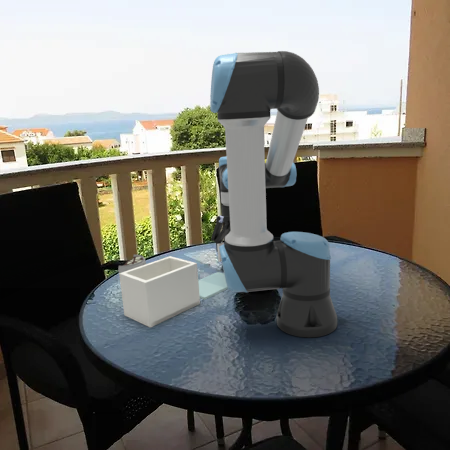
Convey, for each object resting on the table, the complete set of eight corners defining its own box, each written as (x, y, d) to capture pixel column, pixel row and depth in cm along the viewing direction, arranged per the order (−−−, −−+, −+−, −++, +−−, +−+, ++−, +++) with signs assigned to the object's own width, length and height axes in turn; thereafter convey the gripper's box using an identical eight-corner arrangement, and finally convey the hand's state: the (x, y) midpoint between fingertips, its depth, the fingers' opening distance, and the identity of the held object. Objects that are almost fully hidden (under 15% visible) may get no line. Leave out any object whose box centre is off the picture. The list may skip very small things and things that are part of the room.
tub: (200, 303, 120) (196, 263, 117) (150, 327, 108) (145, 282, 105) (173, 294, 128) (170, 256, 125) (124, 315, 116) (119, 273, 113)
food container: (139, 297, 128) (136, 266, 125) (121, 296, 129) (117, 266, 127) (154, 282, 139) (151, 254, 137) (137, 281, 141) (134, 254, 138)
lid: (255, 275, 140) (254, 256, 138) (205, 300, 123) (203, 278, 121) (229, 268, 148) (228, 250, 146) (178, 290, 131) (176, 270, 129)
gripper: (269, 204, 130) (271, 268, 135) (213, 198, 147) (217, 255, 152) (254, 209, 125) (257, 274, 130) (198, 202, 142) (202, 260, 147)
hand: (236, 264), depth 141 cm, fingers open, 13 cm apart
